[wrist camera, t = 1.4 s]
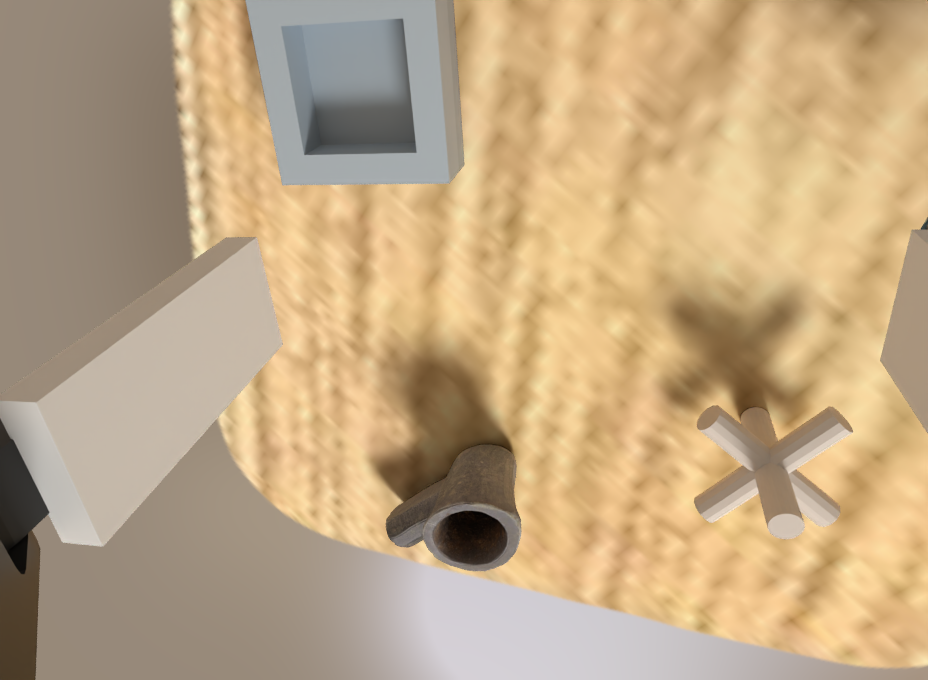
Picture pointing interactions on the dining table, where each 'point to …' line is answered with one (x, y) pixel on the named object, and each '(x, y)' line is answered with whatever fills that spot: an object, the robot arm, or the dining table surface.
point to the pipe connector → (771, 468)
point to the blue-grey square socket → (360, 89)
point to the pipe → (465, 512)
